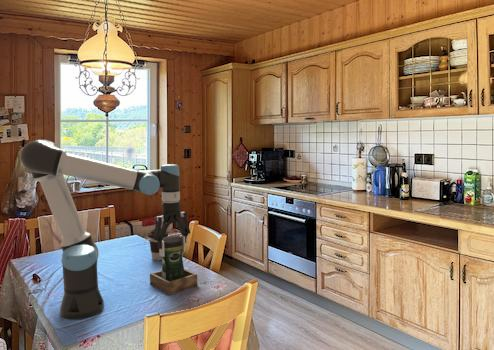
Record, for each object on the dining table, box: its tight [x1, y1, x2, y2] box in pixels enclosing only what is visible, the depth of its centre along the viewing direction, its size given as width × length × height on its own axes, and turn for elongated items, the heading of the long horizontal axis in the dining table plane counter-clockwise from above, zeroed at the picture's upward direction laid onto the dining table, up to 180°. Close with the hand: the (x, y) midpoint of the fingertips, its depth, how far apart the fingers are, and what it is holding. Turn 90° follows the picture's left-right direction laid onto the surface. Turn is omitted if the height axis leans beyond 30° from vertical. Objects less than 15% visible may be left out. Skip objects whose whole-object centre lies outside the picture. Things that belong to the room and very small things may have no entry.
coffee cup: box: [147, 228, 169, 261], centre depth 212 cm, size 10×10×15 cm
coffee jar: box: [161, 235, 185, 281], centre depth 176 cm, size 10×8×19 cm
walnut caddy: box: [149, 268, 198, 296], centre depth 177 cm, size 14×15×5 cm
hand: (172, 253), depth 175 cm, fingers closed on coffee jar, 10 cm apart
